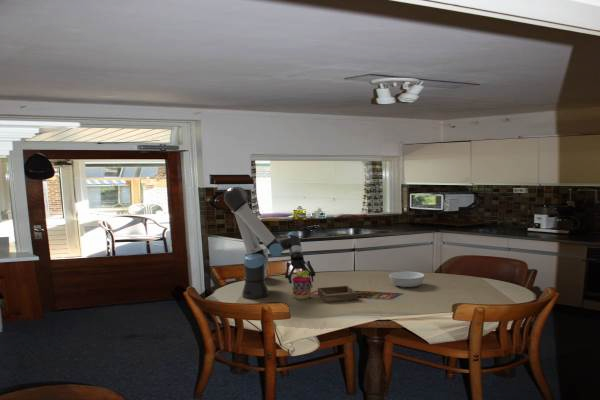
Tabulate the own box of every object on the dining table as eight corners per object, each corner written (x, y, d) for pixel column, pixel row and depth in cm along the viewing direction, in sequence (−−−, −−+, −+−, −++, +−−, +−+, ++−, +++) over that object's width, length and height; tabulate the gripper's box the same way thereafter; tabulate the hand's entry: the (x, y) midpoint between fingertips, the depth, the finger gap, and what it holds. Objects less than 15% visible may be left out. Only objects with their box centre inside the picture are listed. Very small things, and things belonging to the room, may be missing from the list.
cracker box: (261, 277, 319) (260, 246, 318) (269, 277, 317) (268, 247, 316) (252, 281, 306) (251, 250, 305) (260, 282, 304) (259, 250, 303)
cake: (300, 300, 256) (300, 273, 255) (288, 297, 264) (288, 270, 263) (315, 297, 262) (314, 271, 261) (303, 293, 270) (302, 268, 270)
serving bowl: (409, 280, 297) (409, 269, 297) (432, 287, 278) (431, 275, 278) (382, 284, 288) (382, 273, 288) (404, 291, 269) (403, 280, 269)
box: (317, 294, 268) (317, 288, 268) (347, 292, 272) (347, 285, 271) (325, 303, 250) (325, 295, 250) (357, 300, 254) (357, 293, 254)
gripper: (314, 257, 280) (321, 289, 266) (276, 259, 276) (281, 292, 261) (316, 250, 275) (323, 282, 260) (278, 252, 270) (283, 285, 256)
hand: (302, 287), depth 261 cm, fingers closed on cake, 10 cm apart
